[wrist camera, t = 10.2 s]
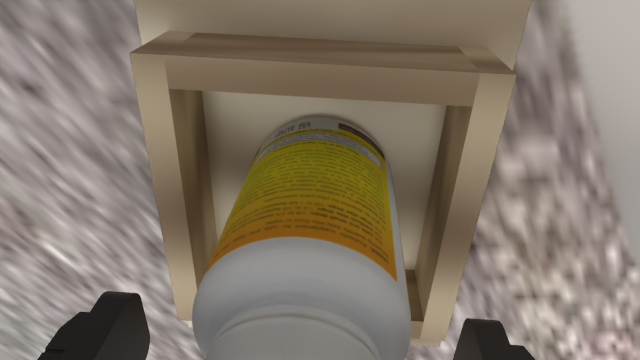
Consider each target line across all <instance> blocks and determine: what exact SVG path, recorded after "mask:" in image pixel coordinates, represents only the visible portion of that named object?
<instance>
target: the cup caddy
mask: <svg viewBox="0 0 640 360" xmlns="http://www.w3.org/2000/svg"><path fill="white" fill-rule="evenodd" d="M134 2H135V8H136V14H137V20H138V26H139V32H140V38H141V44H142V46H141V47H139V48H137V49H136V50H134V51H132V52H130V53H129V54H130V59H131V65H132V70H133V76H134V81H135V87H136V92H137V98H138V103H139V109H140V114H141V120H142V125H143V131H144V136H145V142H146V147H147V153H148V158H149V164H150V169H151V175H152V180H153V186H154V191H155V197H156V202H157V208H158V213H159V219H160V224H161V230H162V235H163V241H164V246H165V252H166V257H167V263H168V268H169V274H170V280H171V285H172V291H173V296H174V302H175V307H176V313H177V318H178V320H186V321H188V327H193V324H192V310H193V303H194V298H195V296H196V293H197V291H198V288H199V285H200V282H201V279H202V277H203V275H204V273H205V270H206V267H207V265H208V263H209V261H210V259H211V257H212V254H213V252H214V250H215V248H216V246H217V243H218V241H219V238H220V236H221V234H222V232H223V229H224V227H225V224H226V221H227V219H228V217H229V215H230V213H231V211H232V208H233V206H234V203H235V201H236V199H237V197H238V195H239V192H240V190H241V188H242V185H243V183H244V181H245V178H246V176H247V174H248V171H249V169H250V166H251V164H252V162H253V160H254V158H255V156H256V154H257V152H258V151H259V149H260V147H261V146H262V145H263V143H264V142H265V141H266V140H267V139H268V138H269V137H270V136H271V135H272V134H273V133H274V132H276V131H277V130H279V129H280V128H282V127H283V126H285V125H288V124H290V123H292V122H295V121H298V120H302V119H307V118H332V119H337V120H341V121H344V122H347V123H349V124H352V125H354V126H356V127H358V128H359V129H361V130H362V131H364V132H365V133H367V134H368V135H369V136H370V137H371V138H372V139H373V140H374V141H375V142H376V143H377V144H378V145H379V146H380V148H381V149H382V151H383V152H384V154H385V156H386V158H387V160H388V162H389V165H390V169H391V173H392V178H393V185H394V191H395V199H396V206H397V213H398V220H399V227H400V235H401V243H402V249H403V256H404V264H405V272H406V281H407V288H408V296H409V303H410V311H411V340H410V345H421V346H434V347H439V346H440V343H441V341H445V337H446V334H447V330H448V326H449V323H450V319H451V315H452V312H453V308H454V304H455V301H456V297H457V293H458V290H459V286H460V282H461V279H462V275H463V271H464V268H465V264H466V260H467V257H468V253H469V249H470V246H471V242H472V238H473V235H474V231H475V227H476V224H477V220H478V216H479V212H480V209H481V205H482V201H483V198H484V194H485V190H486V187H487V183H488V179H489V176H490V172H491V168H492V165H493V161H494V157H495V154H496V150H497V146H498V143H499V139H500V135H501V132H502V128H503V124H504V121H505V117H506V113H507V110H508V106H509V102H510V99H511V95H512V91H513V88H514V84H515V80H516V77H517V75H516V74H515V73H514V72H513V68H514V64H515V61H516V57H517V53H518V49H519V46H520V42H521V38H522V34H523V30H524V27H525V23H526V19H527V15H528V12H529V8H530V4H531V0H134Z"/></svg>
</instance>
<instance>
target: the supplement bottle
mask: <svg viewBox="0 0 640 360" xmlns="http://www.w3.org/2000/svg"><path fill="white" fill-rule="evenodd" d="M192 324H193V331H194V335H195V338H196V341H197V343H198V345H199V348H200V350H201V351H202V353H203V355H204V356H205V360H404V358H405V356H406V354H407V351H408V348H409V345H410V340H411V311H410V303H409V296H408V288H407V281H406V272H405V264H404V256H403V249H402V243H401V235H400V227H399V220H398V213H397V206H396V199H395V191H394V185H393V178H392V173H391V169H390V165H389V162H388V160H387V158H386V156H385V154H384V152H383V151H382V149H381V148H380V146H379V145H378V144H377V143H376V142H375V141H374V140H373V139H372V138H371V137H370V136H369V135H368V134H367V133H365V132H364V131H362V130H361V129H359V128H358V127H356V126H354V125H352V124H349V123H347V122H344V121H341V120H337V119H332V118H307V119H302V120H298V121H295V122H292V123H290V124H288V125H285V126H283V127H282V128H280V129H279V130H277V131H276V132H274V133H273V134H272V135H271V136H270V137H269V138H268V139H267V140H266V141H265V142H264V143H263V145H262V146H261V147H260V149H259V151H258V152H257V154H256V156H255V158H254V160H253V162H252V164H251V166H250V169H249V171H248V174H247V176H246V178H245V181H244V183H243V185H242V188H241V190H240V192H239V195H238V197H237V199H236V201H235V203H234V206H233V208H232V211H231V213H230V215H229V217H228V219H227V221H226V224H225V227H224V229H223V232H222V234H221V236H220V238H219V241H218V243H217V246H216V248H215V250H214V252H213V254H212V257H211V259H210V261H209V263H208V265H207V267H206V270H205V273H204V275H203V277H202V279H201V282H200V285H199V288H198V291H197V293H196V296H195V298H194V303H193V310H192Z"/></svg>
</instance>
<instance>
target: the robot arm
mask: <svg viewBox="0 0 640 360" xmlns="http://www.w3.org/2000/svg"><path fill="white" fill-rule="evenodd" d="M149 344H150V333H149V329H148V325H147V321H146V317H145V313H144V309H143V305H142V301H141V297H140V295H139V294H137V293H126V292H112V291H106V292H104V293H103V294H102V295H101V296H100V298H99V299H98V301H97V302H96V304H95V305H94V307H93V308H92V310H91V311H90V312H79V313H78V314H77V315H75V316H74V317H73V318H72V319H71V320H69V321H68V322H67V323H66V324H64V325H63V326H62V327H61V328H59V330H58V331H57V333H56V334H55V336H54V337H53V338H52V340H51V341H50V343H49V344H48V345H47V347H46V348H45V349H46V350H45V352H44V353H42V354H41V355H40V357H39V358H38V360H145V359H146V357H147V354H148V350H149ZM453 360H535V359H534V358H533V357H532V355H531V354H530V353H529V352H528V351H527V350H526V348H525V347H524V346H519V345H510V343H509V341H508V338H507V335H506V333H505V330H504V327H503V325H502V323H501V322H500V321H497V320H484V319H470V318H467V319H466V320H465V322H464V324H463V328H462V331H461V334H460V338H459V341H458V344H457V348H456V351H455V354H454V358H453Z"/></svg>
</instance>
